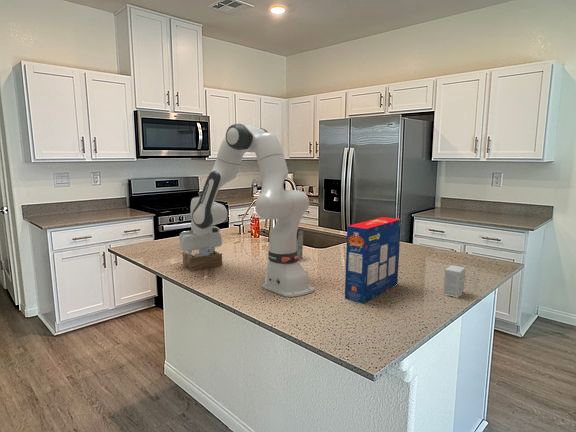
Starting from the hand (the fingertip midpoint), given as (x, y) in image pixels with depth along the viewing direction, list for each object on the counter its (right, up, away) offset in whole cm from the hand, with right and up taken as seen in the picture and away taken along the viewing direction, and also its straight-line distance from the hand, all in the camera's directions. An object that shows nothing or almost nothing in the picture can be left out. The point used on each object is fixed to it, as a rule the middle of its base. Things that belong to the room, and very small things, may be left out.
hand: (201, 257), depth 185 cm
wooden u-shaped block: (0, -4, +1) cm, 4 cm away
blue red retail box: (+75, -10, -32) cm, 83 cm away
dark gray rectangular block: (0, -4, +1) cm, 4 cm away
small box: (+107, -11, -35) cm, 113 cm away
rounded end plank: (-2, -1, +16) cm, 17 cm away
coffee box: (+44, -2, +13) cm, 46 cm away
